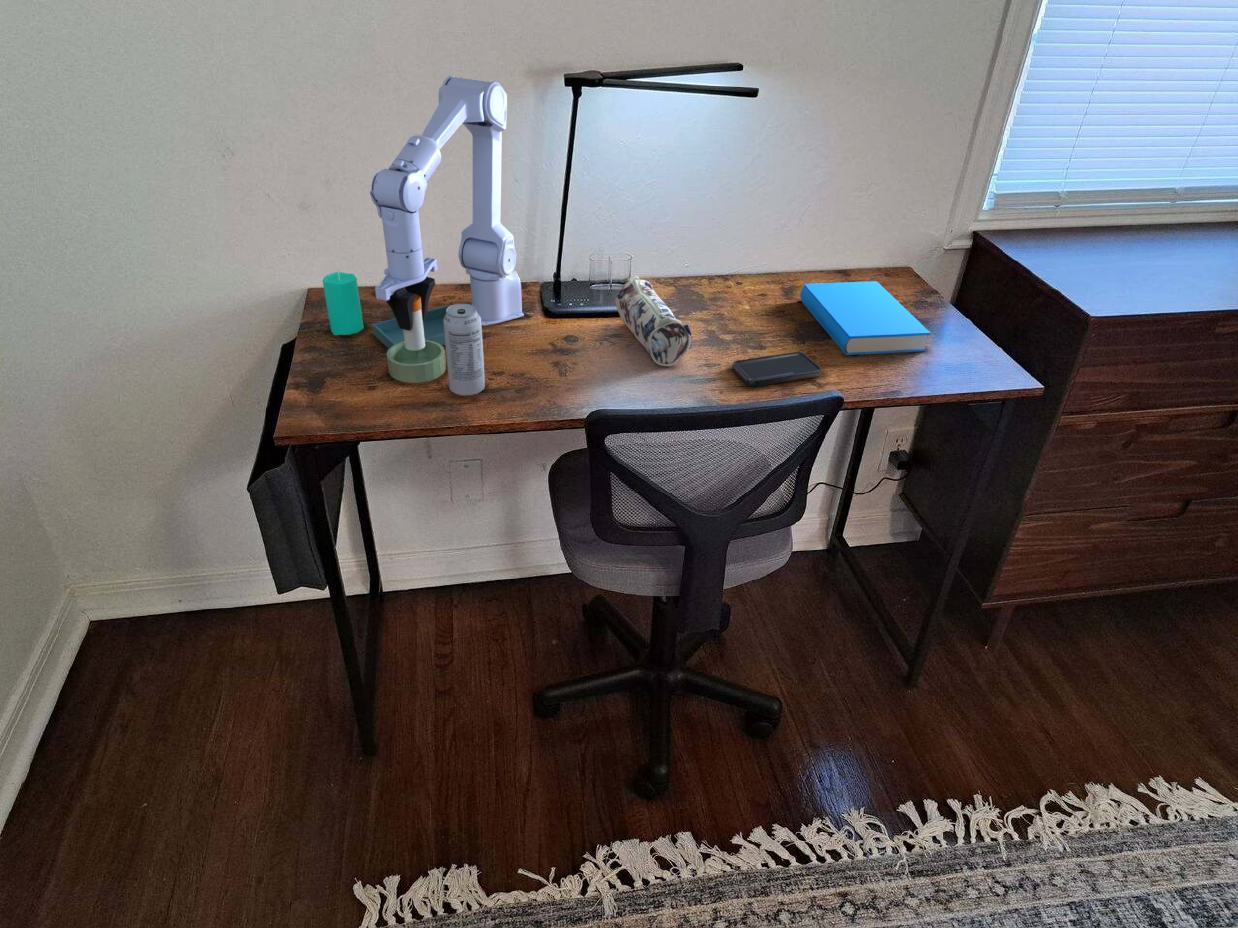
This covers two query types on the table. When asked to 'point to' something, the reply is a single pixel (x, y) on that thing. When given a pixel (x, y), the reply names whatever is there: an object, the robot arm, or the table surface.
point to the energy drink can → (464, 349)
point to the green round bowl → (416, 362)
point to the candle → (343, 303)
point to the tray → (393, 334)
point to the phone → (776, 368)
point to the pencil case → (652, 322)
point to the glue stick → (415, 328)
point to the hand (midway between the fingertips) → (412, 324)
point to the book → (864, 318)
